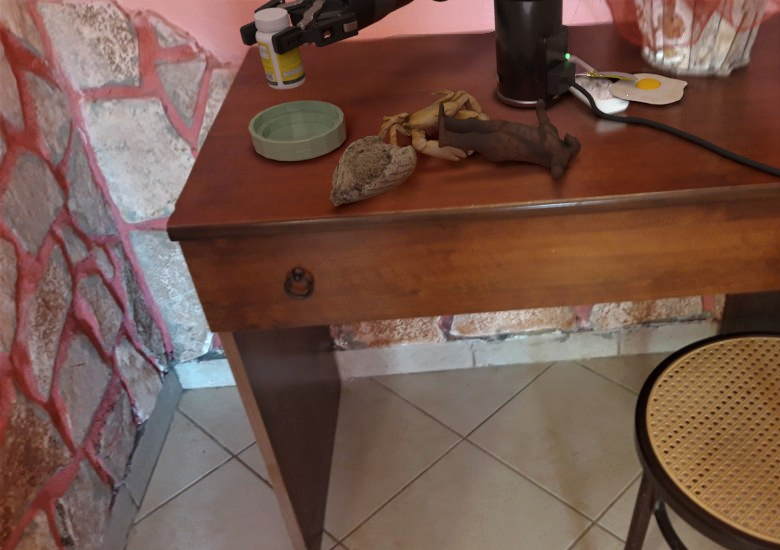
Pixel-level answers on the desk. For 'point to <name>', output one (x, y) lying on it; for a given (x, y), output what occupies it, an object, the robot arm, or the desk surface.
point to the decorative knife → (613, 75)
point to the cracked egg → (649, 89)
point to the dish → (298, 130)
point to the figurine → (510, 139)
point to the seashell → (371, 170)
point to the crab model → (432, 124)
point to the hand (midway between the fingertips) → (259, 41)
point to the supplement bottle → (277, 67)
